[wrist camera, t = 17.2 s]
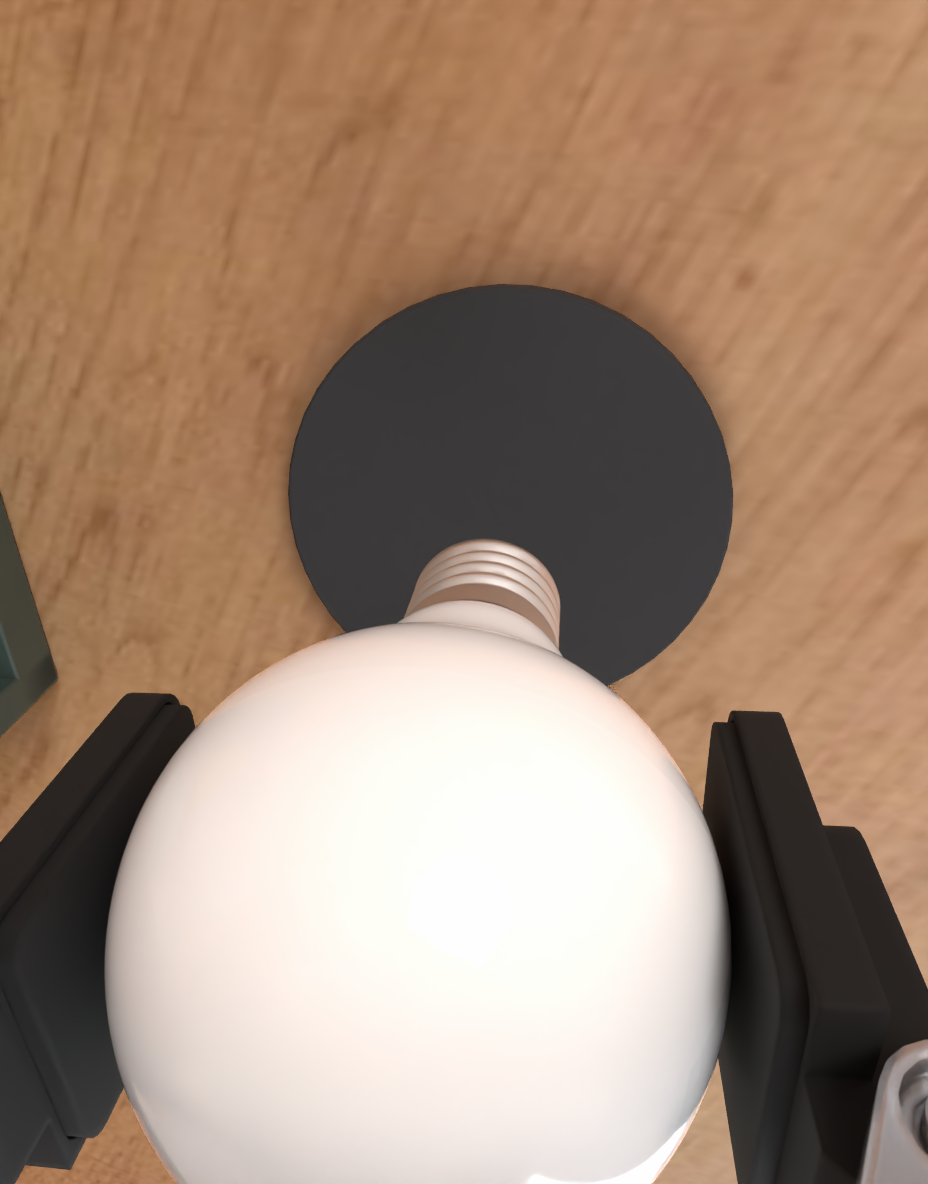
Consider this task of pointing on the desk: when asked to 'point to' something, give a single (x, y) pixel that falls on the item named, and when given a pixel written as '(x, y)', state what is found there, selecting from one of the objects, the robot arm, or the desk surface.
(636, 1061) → the lightbulb
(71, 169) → the desk surface
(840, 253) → the desk surface
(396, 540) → the coaster
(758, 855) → the robot arm
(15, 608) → the window frame
